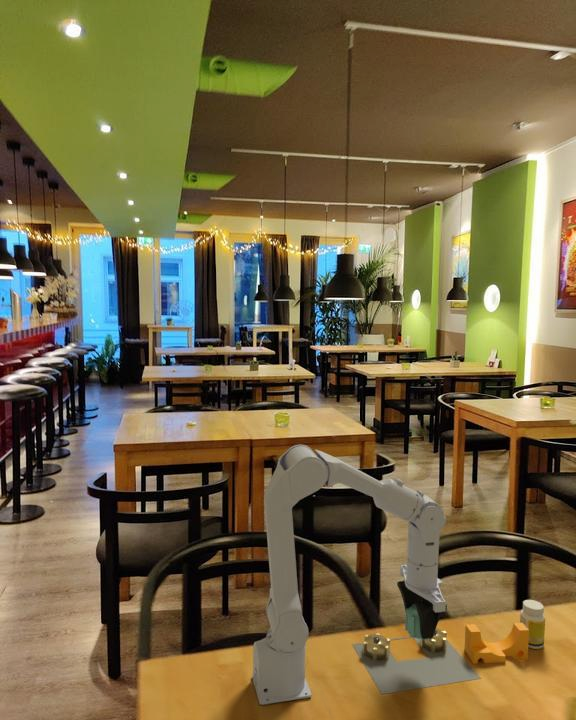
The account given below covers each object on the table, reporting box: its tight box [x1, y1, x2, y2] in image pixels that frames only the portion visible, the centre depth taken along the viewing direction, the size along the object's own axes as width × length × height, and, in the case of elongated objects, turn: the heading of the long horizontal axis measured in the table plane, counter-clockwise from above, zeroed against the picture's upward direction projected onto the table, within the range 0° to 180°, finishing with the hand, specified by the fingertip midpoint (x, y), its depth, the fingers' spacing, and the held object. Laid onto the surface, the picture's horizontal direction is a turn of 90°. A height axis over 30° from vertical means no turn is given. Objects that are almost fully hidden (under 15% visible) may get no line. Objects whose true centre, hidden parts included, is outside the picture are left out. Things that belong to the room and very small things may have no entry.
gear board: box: [351, 627, 482, 695], centre depth 105 cm, size 20×15×4 cm
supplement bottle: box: [519, 599, 546, 650], centre depth 113 cm, size 5×5×8 cm
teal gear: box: [404, 604, 428, 640], centre depth 102 cm, size 5×5×4 cm
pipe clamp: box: [464, 622, 529, 664], centre depth 107 cm, size 12×4×6 cm, turn 95°
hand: (419, 628), depth 102 cm, fingers closed on teal gear, 5 cm apart
